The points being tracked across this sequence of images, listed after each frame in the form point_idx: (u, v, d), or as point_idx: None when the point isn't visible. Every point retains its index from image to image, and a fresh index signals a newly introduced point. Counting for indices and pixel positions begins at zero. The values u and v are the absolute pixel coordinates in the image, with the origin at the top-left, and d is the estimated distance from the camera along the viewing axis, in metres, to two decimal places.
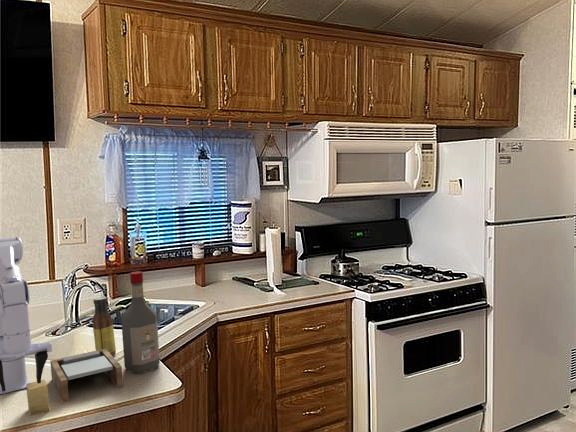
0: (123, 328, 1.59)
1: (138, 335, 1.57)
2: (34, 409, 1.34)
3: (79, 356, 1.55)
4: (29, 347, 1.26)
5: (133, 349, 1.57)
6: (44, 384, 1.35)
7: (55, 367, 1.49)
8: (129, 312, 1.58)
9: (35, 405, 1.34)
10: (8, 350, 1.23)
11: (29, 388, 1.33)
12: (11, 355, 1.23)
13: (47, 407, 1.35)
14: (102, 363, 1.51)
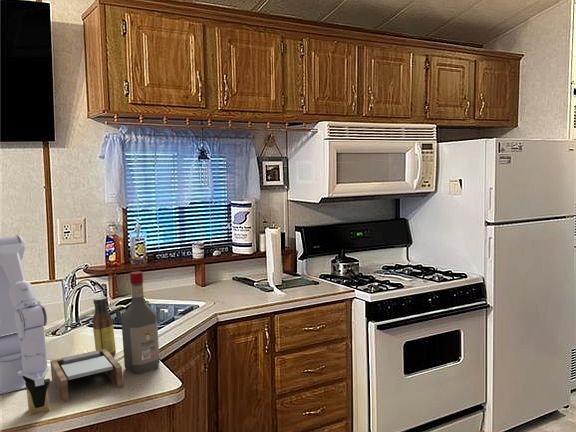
0: (123, 328, 1.59)
1: (138, 335, 1.57)
2: (34, 409, 1.34)
3: (79, 356, 1.55)
4: (29, 371, 1.32)
5: (133, 349, 1.57)
6: None
7: (55, 367, 1.49)
8: (129, 312, 1.58)
9: None
10: None
11: None
12: None
13: (47, 407, 1.35)
14: (102, 363, 1.51)
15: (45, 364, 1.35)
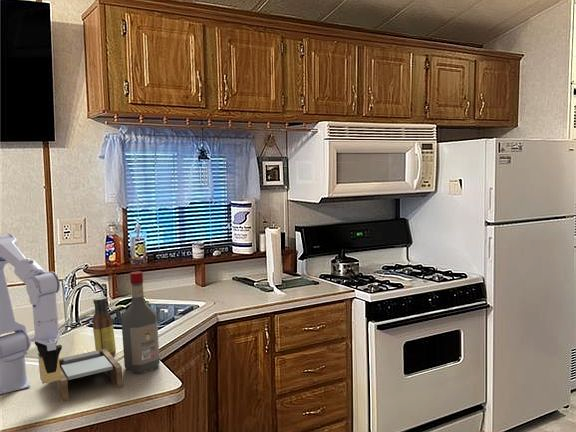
0: (123, 328, 1.59)
1: (138, 335, 1.57)
2: (46, 377, 1.36)
3: (79, 356, 1.55)
4: (41, 337, 1.35)
5: (133, 349, 1.57)
6: None
7: None
8: (129, 312, 1.58)
9: None
10: None
11: (41, 356, 1.36)
12: None
13: (58, 375, 1.38)
14: (102, 363, 1.51)
15: (57, 331, 1.37)
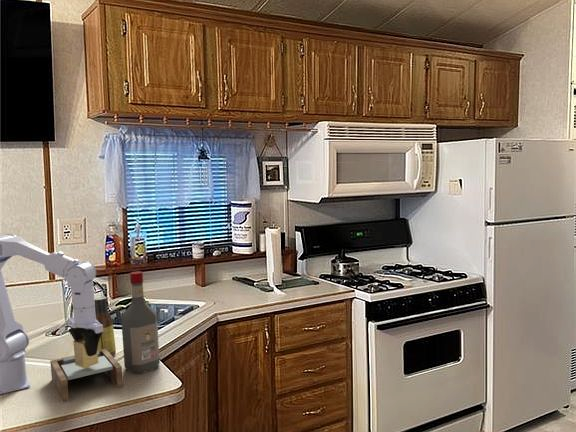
0: (123, 328, 1.59)
1: (138, 335, 1.57)
2: (86, 362, 1.45)
3: None
4: (84, 323, 1.44)
5: (133, 349, 1.57)
6: None
7: (55, 367, 1.49)
8: (129, 312, 1.58)
9: (87, 358, 1.45)
10: None
11: (81, 342, 1.44)
12: (73, 324, 1.45)
13: (96, 359, 1.47)
14: (102, 363, 1.51)
15: (95, 316, 1.47)
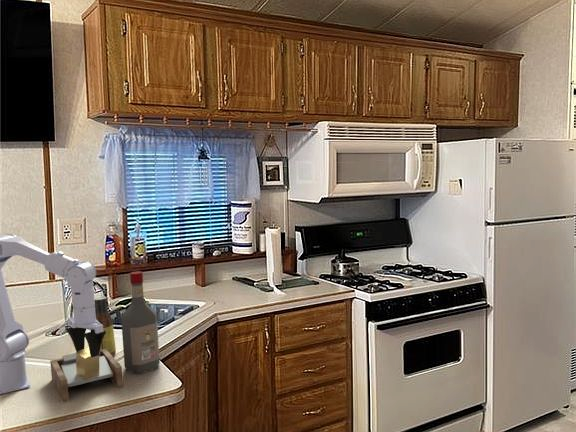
0: (123, 328, 1.59)
1: (138, 335, 1.57)
2: (88, 374, 1.45)
3: None
4: (84, 322, 1.44)
5: (133, 349, 1.57)
6: None
7: (55, 367, 1.49)
8: (129, 312, 1.58)
9: (89, 371, 1.45)
10: None
11: (83, 356, 1.44)
12: (73, 324, 1.45)
13: (98, 371, 1.47)
14: (103, 367, 1.51)
15: (95, 316, 1.47)
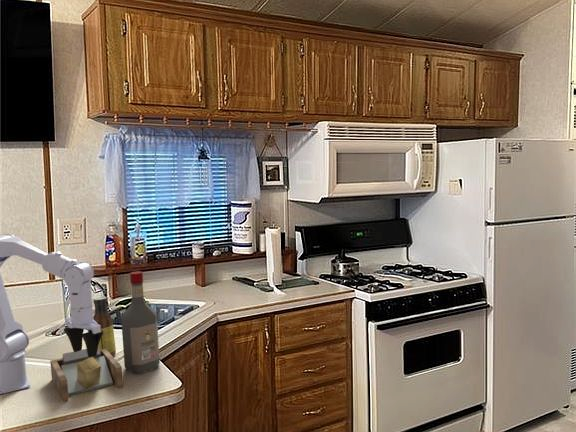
0: (123, 328, 1.59)
1: (138, 335, 1.57)
2: (88, 385, 1.46)
3: (79, 354, 1.54)
4: (81, 323, 1.44)
5: (133, 349, 1.57)
6: (97, 364, 1.46)
7: (55, 367, 1.49)
8: (129, 312, 1.58)
9: (90, 382, 1.46)
10: None
11: (85, 370, 1.43)
12: None
13: (98, 380, 1.48)
14: (103, 373, 1.52)
15: None
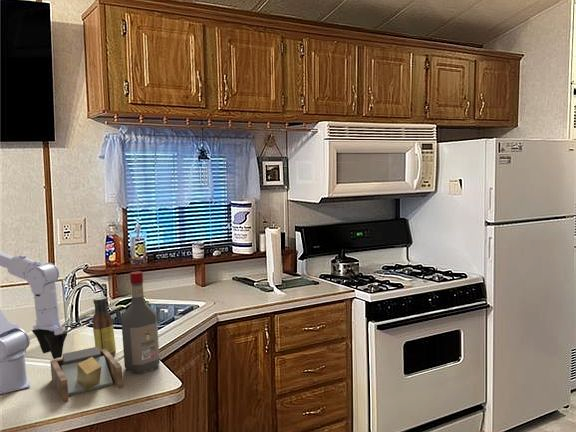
0: (123, 328, 1.59)
1: (138, 335, 1.57)
2: (89, 385, 1.46)
3: (79, 354, 1.54)
4: (45, 324, 1.43)
5: (133, 349, 1.57)
6: (97, 365, 1.45)
7: (55, 367, 1.49)
8: (129, 312, 1.58)
9: (90, 382, 1.45)
10: None
11: (86, 371, 1.43)
12: None
13: (98, 381, 1.48)
14: (103, 373, 1.52)
15: (58, 317, 1.46)
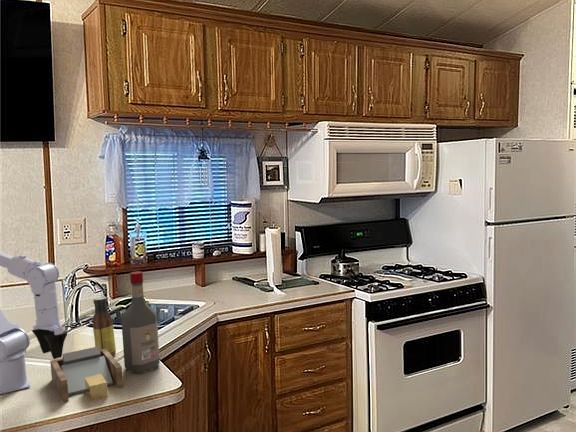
0: (123, 328, 1.59)
1: (138, 335, 1.57)
2: None
3: (79, 354, 1.54)
4: (45, 324, 1.43)
5: (133, 349, 1.57)
6: (105, 394, 1.42)
7: (55, 367, 1.49)
8: (129, 312, 1.58)
9: None
10: None
11: (92, 398, 1.40)
12: None
13: None
14: (103, 373, 1.52)
15: (58, 317, 1.46)
